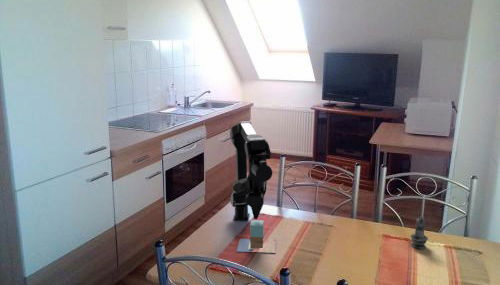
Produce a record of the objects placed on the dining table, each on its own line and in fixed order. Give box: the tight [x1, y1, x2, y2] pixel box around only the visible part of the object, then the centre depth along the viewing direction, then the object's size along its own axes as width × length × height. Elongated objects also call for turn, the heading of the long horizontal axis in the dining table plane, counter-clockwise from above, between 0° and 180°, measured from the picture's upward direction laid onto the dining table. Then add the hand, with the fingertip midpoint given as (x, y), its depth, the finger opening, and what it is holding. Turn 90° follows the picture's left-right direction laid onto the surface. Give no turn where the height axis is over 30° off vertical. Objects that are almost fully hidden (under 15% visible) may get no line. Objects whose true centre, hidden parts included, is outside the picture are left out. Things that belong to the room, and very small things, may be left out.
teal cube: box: [249, 219, 264, 238], centre depth 152 cm, size 4×4×4 cm
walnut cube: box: [249, 236, 264, 248], centre depth 153 cm, size 4×4×4 cm
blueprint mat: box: [236, 238, 259, 253], centre depth 154 cm, size 10×14×1 cm
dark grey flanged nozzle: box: [410, 215, 429, 251], centre depth 151 cm, size 6×6×12 cm
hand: (256, 213), depth 150 cm, fingers open, 9 cm apart
